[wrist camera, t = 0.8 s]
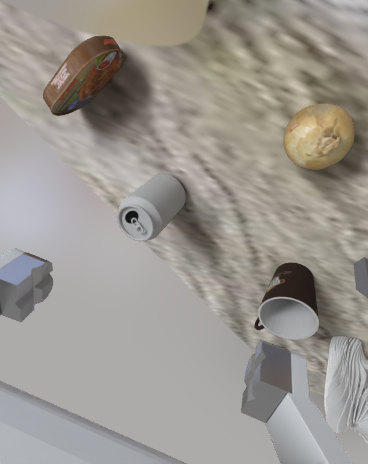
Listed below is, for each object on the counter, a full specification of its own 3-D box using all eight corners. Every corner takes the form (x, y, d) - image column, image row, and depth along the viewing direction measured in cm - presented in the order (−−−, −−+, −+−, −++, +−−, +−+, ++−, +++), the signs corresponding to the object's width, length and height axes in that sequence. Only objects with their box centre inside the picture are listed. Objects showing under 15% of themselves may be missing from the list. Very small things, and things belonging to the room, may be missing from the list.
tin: (80, 112, 52) (44, 122, 45) (68, 96, 51) (30, 104, 45) (135, 52, 43) (100, 54, 36) (122, 31, 42) (84, 29, 36)
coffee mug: (310, 252, 48) (306, 293, 41) (327, 292, 51) (327, 338, 43) (245, 265, 55) (231, 303, 47) (263, 301, 57) (253, 342, 50)
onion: (320, 172, 42) (319, 192, 36) (274, 140, 42) (265, 155, 36) (368, 122, 37) (374, 137, 31) (314, 86, 37) (312, 94, 31)
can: (167, 163, 50) (130, 191, 41) (196, 197, 51) (166, 232, 42) (142, 187, 55) (103, 217, 45) (168, 217, 56) (136, 252, 47)
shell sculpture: (375, 361, 54) (391, 472, 40) (325, 355, 58) (324, 454, 44) (374, 328, 51) (391, 437, 37) (321, 324, 55) (319, 421, 41)
